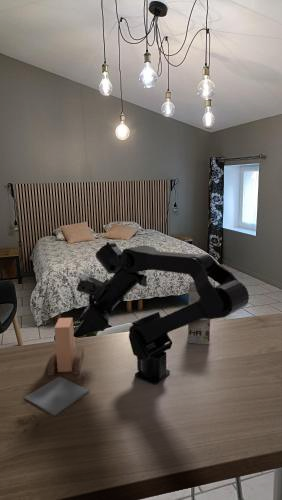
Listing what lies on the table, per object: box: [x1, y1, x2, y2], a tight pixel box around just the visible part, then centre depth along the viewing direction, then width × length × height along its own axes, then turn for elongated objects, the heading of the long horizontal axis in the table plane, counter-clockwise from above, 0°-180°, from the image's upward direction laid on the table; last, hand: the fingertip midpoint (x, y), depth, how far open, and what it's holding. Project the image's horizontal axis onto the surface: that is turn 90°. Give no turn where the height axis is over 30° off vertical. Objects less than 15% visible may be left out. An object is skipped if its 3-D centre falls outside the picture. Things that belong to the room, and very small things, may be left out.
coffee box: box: [187, 282, 211, 345], centre depth 104 cm, size 9×6×16 cm
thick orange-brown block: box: [54, 317, 76, 373], centre depth 90 cm, size 4×6×12 cm, turn 3°
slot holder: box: [46, 345, 85, 376], centre depth 90 cm, size 8×9×3 cm
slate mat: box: [24, 376, 90, 417], centre depth 78 cm, size 10×10×1 cm
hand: (77, 328), depth 89 cm, fingers open, 9 cm apart
